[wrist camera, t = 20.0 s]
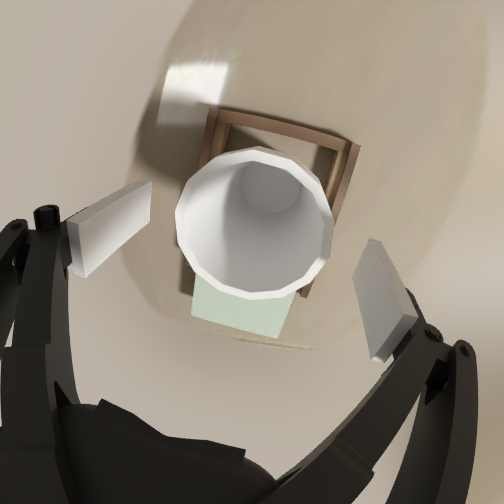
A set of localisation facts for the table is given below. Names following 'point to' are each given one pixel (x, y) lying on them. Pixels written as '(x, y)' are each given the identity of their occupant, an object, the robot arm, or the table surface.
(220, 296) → the cover
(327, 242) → the foam cup
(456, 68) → the table surface
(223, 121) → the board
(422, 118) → the table surface
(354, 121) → the table surface
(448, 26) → the table surface
